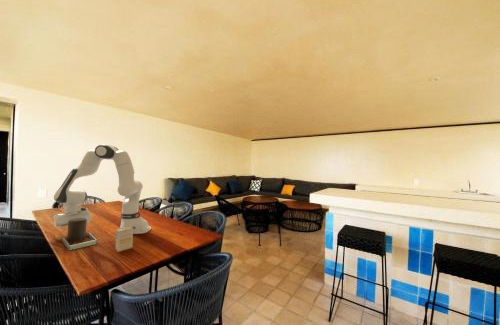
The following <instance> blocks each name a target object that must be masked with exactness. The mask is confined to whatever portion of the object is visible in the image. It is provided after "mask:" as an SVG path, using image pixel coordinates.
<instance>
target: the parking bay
mask: <svg viewBox="0 0 500 325" xmlns="http://www.w3.org/2000/svg"><path fill="white" fill-rule="evenodd" d="M87 237H88V238H89V239H90V241H89V240H88V241H84V242H79V243H74V244H72V245H71V244H70V243H69V241H67V238H65V237H64V236H63V237H62V239H61V241H62V243H63V244H64V246H65V247H66V249H67V250H68V251H72V249H73V250H76V249H81V248H85V247H88V246H93V245H97V244H98V239H97V238H96V237H95V236H93V234H92V233H91V232H89V231H88V232H87Z"/></svg>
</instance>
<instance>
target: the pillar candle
mask: <svg viewBox="0 0 500 325" xmlns="http://www.w3.org/2000/svg"><path fill="white" fill-rule="evenodd" d="M86 221H87V218H74V219H70V220H68V225H67V237H66V241H67V242H68V243H69V242H71V243H73V242H74V243H75V242H80V241H83V240H85V239H86V238H87V237H86V236H87V222H86Z"/></svg>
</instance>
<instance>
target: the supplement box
mask: <svg viewBox="0 0 500 325" xmlns="http://www.w3.org/2000/svg"><path fill="white" fill-rule="evenodd" d="M133 236H134V234H133V228H132V227H130V226H129V227H125V228H120V227H119V228H117V229H115V251H116V252H118V253H120V252H123V251H126V250H130V249H133V243H134V242H133V240H134V239H133Z"/></svg>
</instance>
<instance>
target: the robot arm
mask: <svg viewBox="0 0 500 325" xmlns="http://www.w3.org/2000/svg"><path fill="white" fill-rule="evenodd" d="M103 160H112V161H113V162H114V165H115V168H116V172H117V175H118V176H117V177H118V187H117V192H118V194H119V195H120V196H122V197H124V199H123V201H122V203H121V204H122V205H121V214H120V215H121V216H120V220H121V222H120V226H119V229H120V228H125V227H129V226H130V227H132V228H133V235H138V234H145V233H148V232H149V231H150V230H152V227H151V226H150V225H149V223H148V221H147V220H146V219H145V218H143V217H142V216H141V214H142V212H139V204H140V203H139V202H140V198H141V192H142V190H143V188H144V187H143V186H144V185H143V183H142V182H141V181H139V180H135V169H134V166H133V162H132V159H131V157H130V156H129V154H128V152H127V151H126V150H119V149H118V147H117V146H115V145H114V146H113V145H110V144H106V143H105V144H99V145H97V146H96V147H95V148H94V149H89V150H87V151H86V153H85V155H84V156H83V158H82V160H81V163H80V164H79V165H78V166H77V167H75V168H73V169H72V170H70V172H69V174H67V176H66V178H65V179H64V181H63V182H62V184H61V186H60V187H59V188H58V189H57V190H56V192H55V193H54V195H53V200H54V202H56V203H57V204H62V207H63V208H64V209H63V213H59V214H55V215H54V216H52V218H53V219H52V220H53V221H54V227H55V228H60V227H65V226H67V227H68V220H70V219H74V218H87V221H86V223H89V222H91V221H92V215H91V213H90V211H89V208H87V207H80V206H81V205H82V204H84V203H85V202H86V201H87V200H88V193H87V191H85V190H78V189H70V188H71V187H72V185H73V184H74V182H75V180H77V179H79V178H82V177H89V176H92V175H95V173H97V172H98V169H99V167H100V165H101V162H102V161H103Z"/></svg>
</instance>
